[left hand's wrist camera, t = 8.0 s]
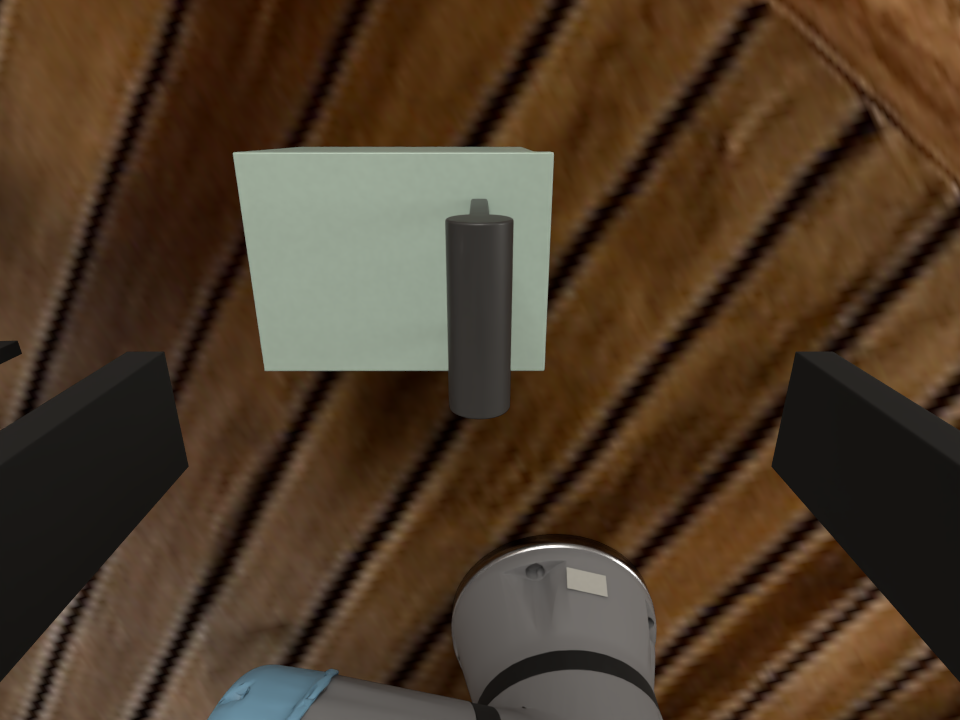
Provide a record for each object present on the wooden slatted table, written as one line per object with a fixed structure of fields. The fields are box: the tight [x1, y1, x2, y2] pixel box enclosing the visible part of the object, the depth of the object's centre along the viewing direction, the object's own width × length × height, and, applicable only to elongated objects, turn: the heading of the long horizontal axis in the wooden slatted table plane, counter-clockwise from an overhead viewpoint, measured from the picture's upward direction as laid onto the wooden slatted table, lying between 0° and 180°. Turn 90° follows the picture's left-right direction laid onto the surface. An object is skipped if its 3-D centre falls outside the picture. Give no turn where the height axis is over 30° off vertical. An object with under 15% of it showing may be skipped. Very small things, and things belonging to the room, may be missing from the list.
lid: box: [233, 152, 554, 419], centre depth 22 cm, size 13×10×9 cm
